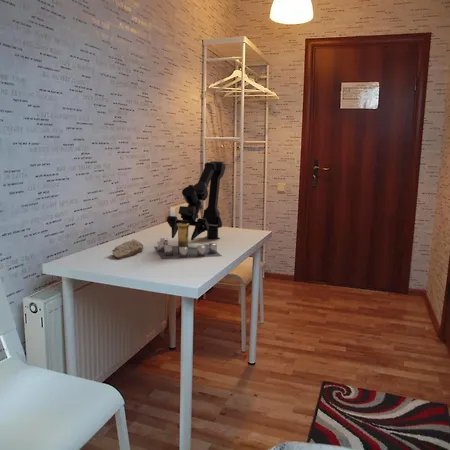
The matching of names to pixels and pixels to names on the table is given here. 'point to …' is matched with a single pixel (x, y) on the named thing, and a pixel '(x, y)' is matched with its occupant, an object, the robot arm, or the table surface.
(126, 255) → the stone
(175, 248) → the mat
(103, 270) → the table surface
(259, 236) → the table surface
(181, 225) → the brass sleeve
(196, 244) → the pad
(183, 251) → the spacers
